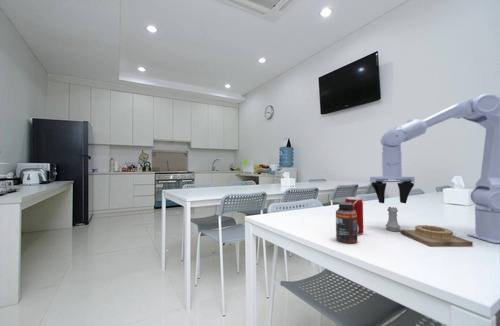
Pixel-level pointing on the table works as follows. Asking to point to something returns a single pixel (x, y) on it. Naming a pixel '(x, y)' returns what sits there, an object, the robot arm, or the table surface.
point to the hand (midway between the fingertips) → (392, 202)
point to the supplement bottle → (346, 223)
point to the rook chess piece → (392, 220)
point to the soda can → (359, 210)
